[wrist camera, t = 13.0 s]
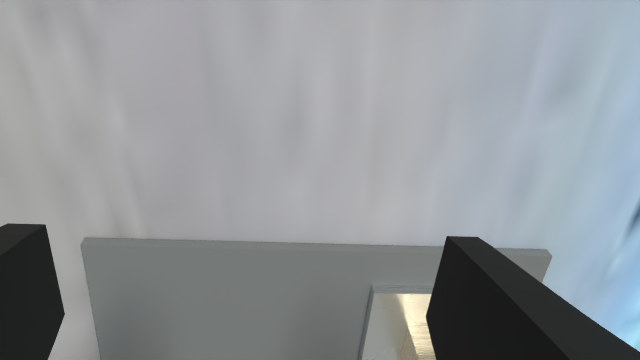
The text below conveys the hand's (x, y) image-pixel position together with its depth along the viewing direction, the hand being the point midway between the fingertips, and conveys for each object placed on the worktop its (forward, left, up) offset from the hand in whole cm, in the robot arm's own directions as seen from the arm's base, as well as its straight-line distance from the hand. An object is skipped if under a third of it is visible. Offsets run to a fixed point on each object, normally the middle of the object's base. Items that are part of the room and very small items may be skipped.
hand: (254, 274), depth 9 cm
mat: (+3, -16, -9) cm, 19 cm away
